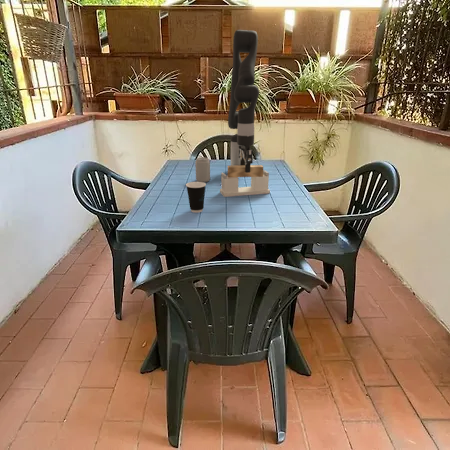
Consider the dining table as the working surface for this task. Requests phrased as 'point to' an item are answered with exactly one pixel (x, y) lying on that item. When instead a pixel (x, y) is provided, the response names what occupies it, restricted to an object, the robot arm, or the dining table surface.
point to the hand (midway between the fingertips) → (245, 170)
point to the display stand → (231, 187)
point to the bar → (240, 171)
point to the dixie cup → (196, 196)
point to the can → (202, 169)
